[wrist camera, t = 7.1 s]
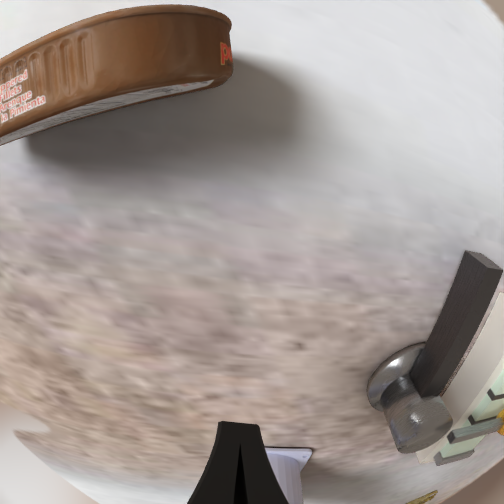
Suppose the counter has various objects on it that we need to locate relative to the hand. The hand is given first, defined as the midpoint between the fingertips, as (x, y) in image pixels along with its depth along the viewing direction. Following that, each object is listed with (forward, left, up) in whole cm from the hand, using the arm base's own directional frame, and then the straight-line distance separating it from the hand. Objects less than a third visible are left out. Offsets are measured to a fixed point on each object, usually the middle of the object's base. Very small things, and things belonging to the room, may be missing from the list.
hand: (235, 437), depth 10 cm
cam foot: (-1, -17, -9) cm, 20 cm away
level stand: (-6, -23, -9) cm, 26 cm away
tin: (+11, +9, -10) cm, 17 cm away
